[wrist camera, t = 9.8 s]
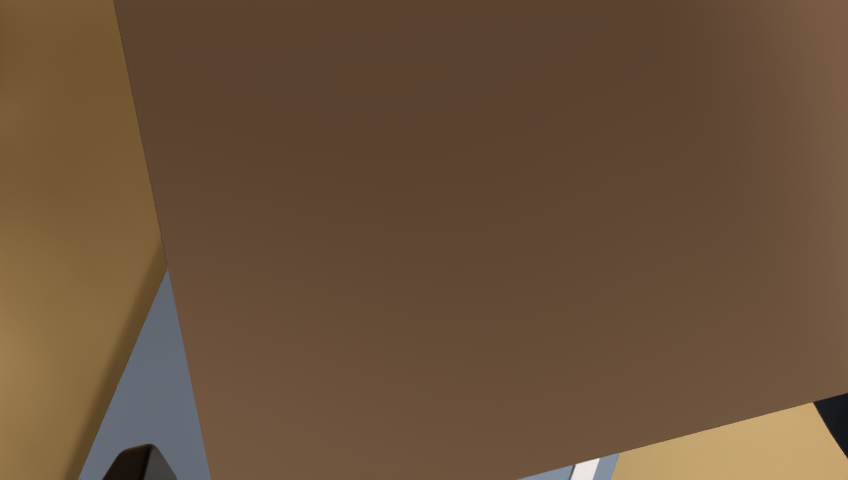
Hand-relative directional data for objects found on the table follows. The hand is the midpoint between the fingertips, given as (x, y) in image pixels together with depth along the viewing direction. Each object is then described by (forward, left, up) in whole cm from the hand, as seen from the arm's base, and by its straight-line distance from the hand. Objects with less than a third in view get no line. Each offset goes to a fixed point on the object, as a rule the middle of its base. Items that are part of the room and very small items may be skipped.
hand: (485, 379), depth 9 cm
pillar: (+2, +1, -7) cm, 8 cm away
